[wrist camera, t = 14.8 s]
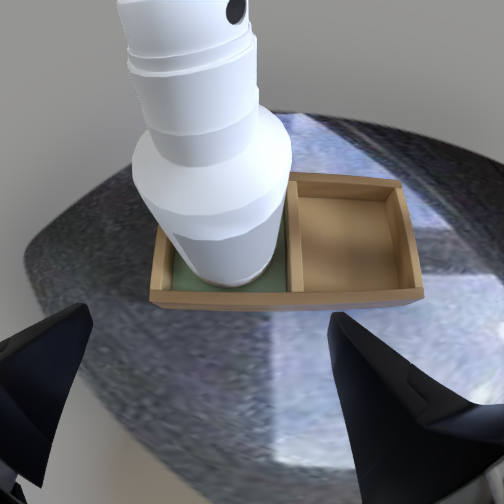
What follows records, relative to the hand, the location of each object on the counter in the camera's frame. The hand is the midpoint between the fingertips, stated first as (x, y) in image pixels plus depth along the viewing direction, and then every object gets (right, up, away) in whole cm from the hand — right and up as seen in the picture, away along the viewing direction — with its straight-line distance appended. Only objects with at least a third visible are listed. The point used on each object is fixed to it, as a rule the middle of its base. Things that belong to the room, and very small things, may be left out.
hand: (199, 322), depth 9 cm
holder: (+5, +3, +12) cm, 14 cm away
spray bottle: (0, +3, +12) cm, 12 cm away
